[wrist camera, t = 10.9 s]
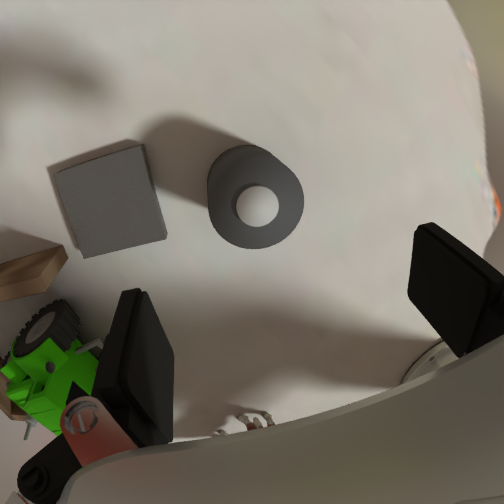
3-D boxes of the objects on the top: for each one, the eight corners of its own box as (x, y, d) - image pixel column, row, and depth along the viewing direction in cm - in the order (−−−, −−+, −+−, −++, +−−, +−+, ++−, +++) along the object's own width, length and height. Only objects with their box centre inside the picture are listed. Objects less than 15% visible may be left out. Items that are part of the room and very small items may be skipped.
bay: (62, 245, 22) (38, 277, 18) (136, 385, 31) (132, 421, 26) (-52, 281, 21) (-75, 307, 17) (21, 391, 30) (10, 419, 25)
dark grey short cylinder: (278, 139, 21) (299, 151, 17) (288, 211, 24) (309, 240, 19) (200, 153, 21) (198, 170, 16) (215, 226, 24) (219, 260, 19)
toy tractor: (-5, 335, 25) (-39, 399, 17) (84, 281, 24) (44, 366, 15) (56, 395, 31) (39, 460, 22) (153, 361, 29) (146, 447, 21)
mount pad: (143, 143, 20) (140, 145, 19) (167, 233, 23) (166, 239, 22) (59, 171, 20) (53, 174, 19) (87, 252, 23) (83, 258, 22)
